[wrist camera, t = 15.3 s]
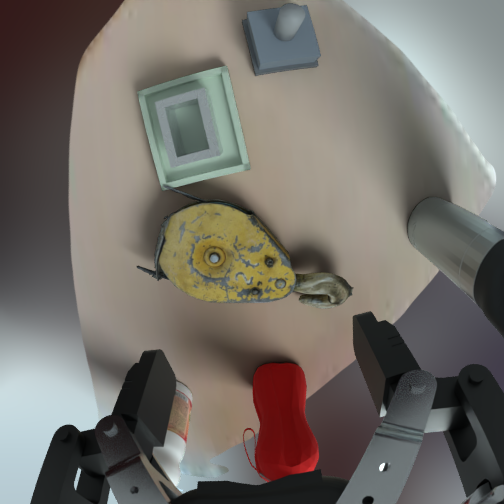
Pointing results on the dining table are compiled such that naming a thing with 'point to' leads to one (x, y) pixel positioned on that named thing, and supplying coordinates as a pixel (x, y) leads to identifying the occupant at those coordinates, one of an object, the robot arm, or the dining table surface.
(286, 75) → the dining table surface
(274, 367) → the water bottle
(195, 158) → the gray open box
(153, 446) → the robot arm
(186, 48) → the dining table surface
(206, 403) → the dining table surface
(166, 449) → the fruit juice
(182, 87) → the tray
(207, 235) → the pulley block
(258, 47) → the grey peg stand
